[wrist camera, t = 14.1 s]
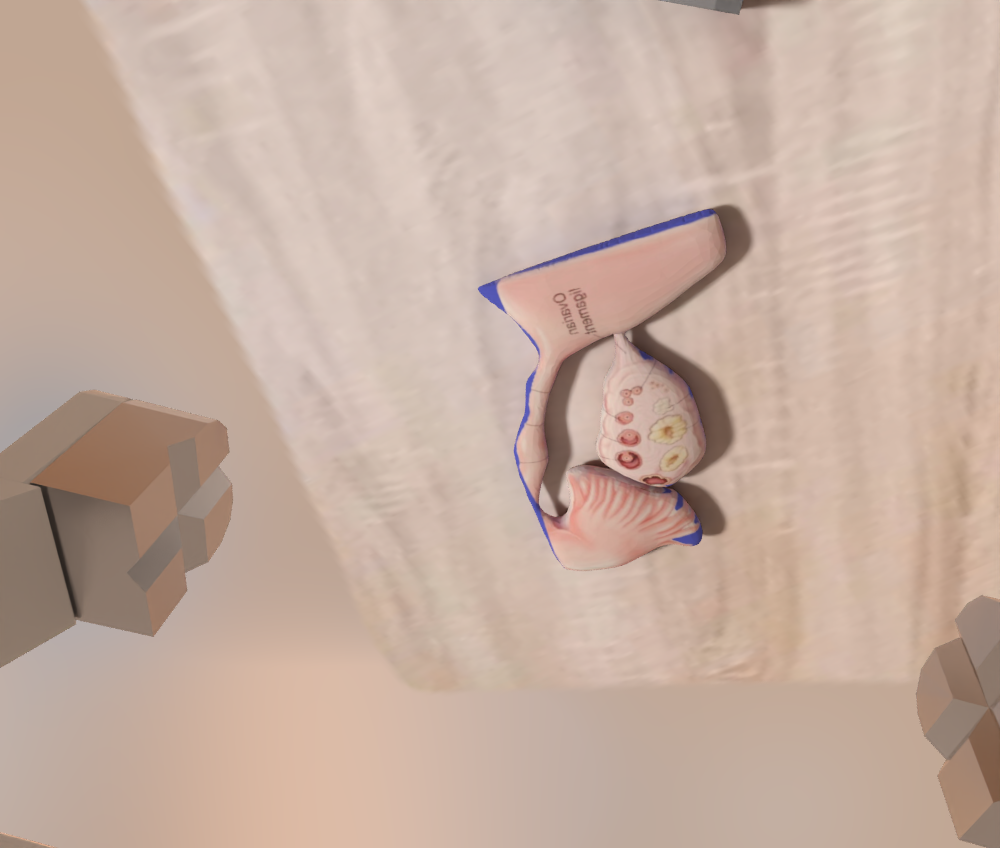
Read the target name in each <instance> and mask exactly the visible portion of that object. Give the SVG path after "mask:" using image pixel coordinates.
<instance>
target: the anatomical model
mask: <svg viewBox="0 0 1000 848" xmlns="http://www.w3.org/2000/svg"><path fill="white" fill-rule="evenodd" d="M725 255H726V241H725V237H724V232H723V228H722V225H721V222H720V220H719V217H718V214H717V213H716V212H715V211H714V210H711V209H707V210H703V211H698V212H696V213H693V214H688V215H686V216H684V217H679V218H676V219H672V220H670V221H668V222H663V223H660V224H656V225H653V226H652V227H647V228H644V229H641V230H638V231H636V232H632V233H629V234H626V235H622V236H621V237H618V238H614V239H611V240H609V241H605V242H602V243H600V244H596V245H593V246H590V247H587V248H584V249H581V250H578V251H575V252H573V253H570V254H567V255H564V256H561V257H558V258H556V259H553V260H550V261H546V262H543V263H541V264H537V265H535V266H532V267H529V268H526V269H524V270H522V271H518V272H515V273H513V274H510V275H508V276H505V277H503V278H501V279H498V280H496V281H493V282H491V283H488V284H485V285H483V286H480V287H479V288H478V290H479V292H480V293H481V294H482V295H483V296H484V297H485V298H487V299H488V300H489V301H490V302H491V303H493V304H495V305H496V306H497V307H498V308H500V309H501V310H503V311H504V312H505V313H506V314H508V315H509V316H510V317H511V318H512V319H513V320H514V321H515V322H516V323H517V324H518V325H519V326H520V328H521V329H522V330H523V331H524V333H525V334H526V335H527V336H528V337H529V339H530V340H531V342H532V343H533V344H534V346H535V347H536V349H537V351H538V354H539V363H538V365H537V367H536V369H535V370H534V371H533V373H532V374H531V376H530V377H529V378H528V381H527V383H526V406H525V414H524V417H523V419H522V422H521V425H520V428H519V431H518V434H517V438H516V442H515V447H514V455H515V459H516V464H517V467H518V471H519V475H520V478H521V480H522V482H523V485H524V487H525V489H526V493H527V496H528V498H529V501H530V502H531V504H532V506H533V508H534V511H535V513H536V515H537V517H538V520H539V522H540V524H541V527H542V529H543V531H544V534H545V535H546V537H547V539H548V541H549V544H550V546H551V549H552V551H553V553H554V555H555V556H556V558H557V560H558V561H559V562H560V563H561V565H562V566H563V567H564V568H566V569H569V570H577V571H589V570H599V569H607V568H613V567H618V566H622V565H624V564H627V563H629V562H631V561H633V560H635V559H637V558H639V557H641V556H643V555H645V554H646V553H648V552H650V551H652V550H654V549H656V548H657V547H660V546H663V545H668V544H678V545H683V546H694V545H697V544H699V543H700V541H701V539H702V533H703V532H702V527H701V523H700V520H699V518H698V517H697V516H696V514H695V512H694V511H693V509H692V508H691V507H690V505H689V504H688V503H687V502H686V500H685V499H684V498H683V497H682V496H681V495H680V494H679V493H678V492H676V491H675V490H673V489H670V488H667V486H671V485H673V484H674V483H676V482H677V481H678V480H680V479H681V478H682V477H683V476H685V475H686V474H688V473H689V472H690V471H691V470H692V469H693V468H694V467H695V466H696V465H697V464H698V463H699V462H700V461H701V459H702V458H703V455H704V454H705V449H706V437H705V433H704V430H703V426H702V422H701V419H700V415H699V412H698V409H697V406H696V403H695V400H694V397H693V394H692V392H691V389H690V387H689V386H688V385H687V384H686V382H685V381H684V380H683V379H682V378H681V377H680V376H679V375H677V374H676V373H675V372H674V371H673V370H671V369H670V368H668V367H667V366H666V365H664V364H662V363H660V362H659V361H657V360H656V359H654V358H653V357H652V356H650V355H648V354H646V353H645V352H643V351H641V350H639V349H638V348H637V347H635V346H634V345H633V344H632V343H631V342H630V341H629V340H628V338H627V337H626V336H625V333H626V331H627V330H629V329H632V328H633V327H635V326H637V325H639V324H641V323H642V322H643V321H645V320H647V319H648V318H650V317H652V316H653V315H654V314H656V313H657V312H658V311H660V310H661V309H662V308H664V307H665V306H667V305H669V304H670V303H671V302H673V301H674V300H675V299H676V298H678V297H679V296H680V295H681V294H683V293H684V292H685V291H686V290H688V289H689V288H690V287H691V286H693V285H694V284H695V283H696V282H698V281H700V280H701V279H702V278H704V277H705V276H706V275H707V274H709V273H710V272H711V271H713V270H714V269H715V268H716V267H717V266H718V265H719V264H720V263H721V262H722V261H723V260H724V258H725ZM612 334H614V338H615V357H614V361H613V363H612V365H611V367H610V368H609V370H608V373H607V374H606V376H605V378H604V381H603V404H602V409H601V417H600V431H599V434H598V437H597V441H596V450H597V454H598V456H599V458H600V459H601V461H602V462H603V463H604V464H606V465H607V466H608V467H610V468H612V469H608V468H603V467H598V466H592V465H579V466H575V467H572V468H570V469H569V470H568V471H567V472H566V478H567V484H568V488H569V492H570V504H569V507H568V511H567V513H566V514H564V515H563V516H560V517H553V516H550V515H548V514H547V513H545V512H544V511H543V510H542V509H541V508H540V506H539V493H540V488H541V484H542V480H543V476H544V473H545V470H546V467H547V464H548V461H549V457H548V449H547V444H546V438H545V431H544V419H545V412H546V407H547V403H548V399H549V395H550V392H551V389H552V387H553V384H554V382H555V379H556V376H557V373H558V371H559V369H560V366H561V364H562V362H563V361H564V360H565V359H566V358H568V357H569V356H571V355H572V354H574V353H576V352H578V351H579V350H581V349H583V348H585V347H587V346H588V345H590V344H591V343H593V342H595V341H597V340H599V339H602V338H605V337H607V336H610V335H612Z"/></svg>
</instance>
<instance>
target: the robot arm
mask: <svg viewBox="0 0 1000 848" xmlns="http://www.w3.org/2000/svg"><path fill="white" fill-rule="evenodd" d="M228 453H229V444H228V436H227V428H226V427H225V426H224V425H223V424H222V423H221V422H220V421H218V420H215V419H211V418H207V417H203V416H199V415H196V414H192V413H187V412H184V411H180V410H176V409H172V408H168V407H164V406H160V405H156V404H152V403H148V402H144V401H140V400H132V399H129V398H126V397H122V396H118V395H114V394H110V393H105V392H101V391H97V390H89V391H83V392H79V393H78V394H76V395H75V396H74V397H72V398H71V399H70V400H69V401H67V402H66V403H65V404H63V405H62V406H61V407H59V408H58V409H57V410H56V411H54V412H53V413H52V414H51V415H49V416H48V417H47V418H45V419H44V420H43V421H41V422H40V423H39V424H37V425H36V426H35V427H33V428H32V429H31V430H30V431H28V432H27V433H26V434H24V435H23V436H22V437H21V438H19V439H18V440H17V441H15V442H14V443H13V444H12V445H10V446H9V447H8V448H7V449H5V450H4V451H2V452H1V453H0V668H1V667H2V666H4V665H6V664H8V663H10V662H11V661H13V660H15V659H16V658H18V657H20V656H22V655H23V654H25V653H27V652H29V651H30V650H32V649H34V648H36V647H37V646H39V645H40V644H42V643H44V642H46V641H48V640H49V639H51V638H53V637H55V636H56V635H58V634H60V633H62V632H63V631H65V630H67V629H69V628H70V627H72V626H74V625H75V624H76V620H80V621H84V622H89V623H94V624H98V625H103V626H107V627H111V628H116V629H121V630H125V631H130V632H134V633H139V634H143V635H148V636H152V637H154V635H155V634H156V633H157V631H158V630H159V629H160V627H161V626H162V624H163V623H164V622H165V620H166V619H167V618H168V616H169V615H170V614H171V612H172V611H173V610H174V608H175V607H176V605H177V604H178V603H179V601H180V600H181V599H182V597H183V596H184V594H185V593H186V592H187V585H186V577H185V573H186V572H187V571H190V570H192V569H194V568H196V567H198V566H200V565H203V564H205V563H207V562H208V561H209V560H210V559H211V557H212V555H213V554H214V553H215V551H216V550H217V548H218V547H219V546H220V544H221V542H222V540H223V537H224V535H225V532H226V529H227V527H228V524H229V522H230V517H231V511H232V504H233V493H232V483H231V482H230V480H229V479H228V477H227V476H226V475H225V473H224V472H223V471H222V470H221V468H220V467H219V466H218V465H219V464H220V463H221V462H222V461H223V459H224V458H225V457H226V456H227V454H228ZM955 622H956V625H957V629H958V633H959V636H960V638H957V639H955V640H953V641H950V642H948V643H946V644H943V645H941V646H939V647H936V648H935V649H934V650H933V652H932V653H931V655H930V656H929V658H928V659H927V661H926V663H925V664H924V666H923V667H922V669H921V673H920V677H919V682H918V687H917V692H916V697H917V709H918V716H919V719H920V723H921V726H922V730H923V733H924V736H925V737H926V738H927V739H928V740H929V741H930V742H931V744H932V745H933V746H934V747H935V748H936V749H937V750H938V751H939V752H940V753H941V754H942V755H943V757H944V758H945V759H946V761H945V762H944V764H943V766H942V768H941V770H940V772H939V774H938V779H939V782H940V785H941V788H942V791H943V794H944V797H945V800H946V803H947V806H948V809H949V812H950V815H951V818H952V821H953V824H954V827H955V830H956V833H957V836H958V839H959V840H962V841H965V842H969V843H973V844H976V845H980V846H983V847H987V848H1000V599H996V598H992V597H987V596H983V595H981V596H979V597H978V598H976V599H974V600H973V601H971V602H969V603H967V605H966V606H965V607H964V609H963V610H962V611H961V613H960V614H959V615H958V617H957V618H956V619H955ZM0 848H56V847H53V846H49V845H45V844H42V843H38V842H35V841H31V840H27V839H24V838H20V837H16V836H13V835H9V834H5V833H2V832H0Z"/></svg>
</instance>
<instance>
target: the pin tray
mask: <svg viewBox="0 0 1000 848" xmlns="http://www.w3.org/2000/svg"><path fill="white" fill-rule="evenodd" d="M660 1H666V2H671V3H677V4H682V5H688V6H693V7H699V8H704V9H710V10H715V11H721V12H726V13H732V14H738V15H739V13H740V10H741V6H742V3H743V0H660Z"/></svg>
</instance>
